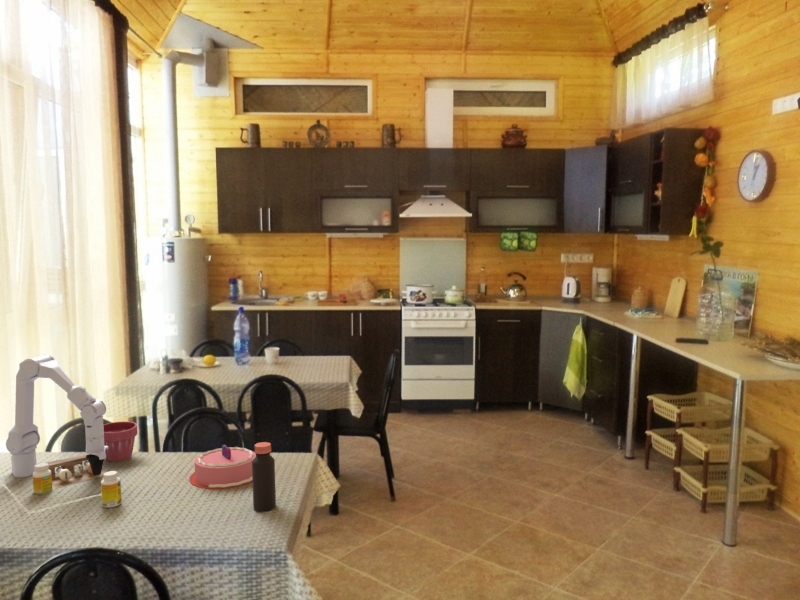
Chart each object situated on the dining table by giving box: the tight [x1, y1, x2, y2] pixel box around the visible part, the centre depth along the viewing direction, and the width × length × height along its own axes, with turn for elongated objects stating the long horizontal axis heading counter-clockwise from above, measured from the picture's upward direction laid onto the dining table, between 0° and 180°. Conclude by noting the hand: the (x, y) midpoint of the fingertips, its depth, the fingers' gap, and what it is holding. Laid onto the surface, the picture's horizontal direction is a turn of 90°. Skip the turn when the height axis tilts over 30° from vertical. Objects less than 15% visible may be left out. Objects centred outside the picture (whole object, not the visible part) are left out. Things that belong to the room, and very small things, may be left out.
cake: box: [188, 444, 256, 490], centre depth 222 cm, size 25×25×11 cm
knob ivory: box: [55, 466, 72, 481], centre depth 218 cm, size 9×4×4 cm, turn 43°
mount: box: [46, 453, 107, 489], centre depth 222 cm, size 16×17×6 cm
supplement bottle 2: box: [100, 470, 122, 509], centre depth 198 cm, size 6×6×10 cm
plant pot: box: [103, 421, 138, 462], centre depth 240 cm, size 14×14×13 cm
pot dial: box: [74, 464, 83, 478], centre depth 220 cm, size 3×3×4 cm
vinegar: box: [252, 441, 277, 513], centre depth 194 cm, size 7×7×20 cm
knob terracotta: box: [83, 460, 93, 474], centre depth 225 cm, size 9×4×4 cm, turn 43°
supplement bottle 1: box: [32, 462, 53, 495], centre depth 207 cm, size 5×5×10 cm
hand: (96, 474), depth 220 cm, fingers closed
